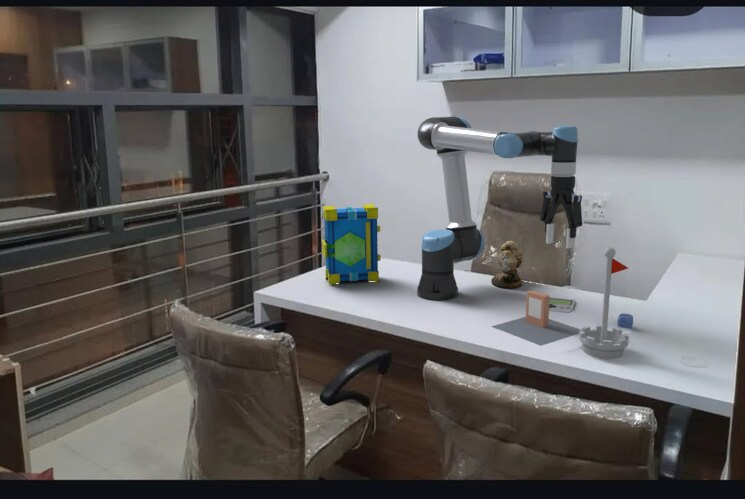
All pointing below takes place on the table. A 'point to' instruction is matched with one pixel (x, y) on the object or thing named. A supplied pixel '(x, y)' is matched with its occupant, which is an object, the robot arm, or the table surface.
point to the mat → (537, 331)
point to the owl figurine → (508, 266)
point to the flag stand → (605, 321)
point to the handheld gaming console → (561, 305)
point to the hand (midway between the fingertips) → (559, 245)
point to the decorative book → (351, 243)
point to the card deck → (537, 309)
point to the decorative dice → (625, 321)
